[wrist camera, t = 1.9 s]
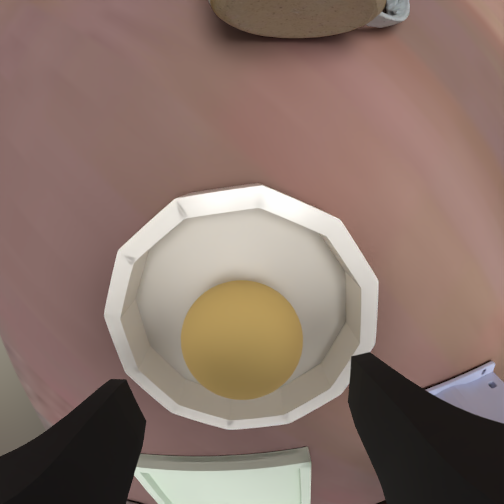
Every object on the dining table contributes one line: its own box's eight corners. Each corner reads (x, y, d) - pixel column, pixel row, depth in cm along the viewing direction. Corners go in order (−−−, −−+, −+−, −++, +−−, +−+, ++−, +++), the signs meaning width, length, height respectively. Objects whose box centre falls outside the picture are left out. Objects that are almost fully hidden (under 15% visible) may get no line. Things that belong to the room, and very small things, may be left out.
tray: (307, 446, 18) (311, 461, 17) (308, 501, 21) (309, 512, 20) (131, 452, 18) (127, 465, 17) (173, 506, 21) (171, 517, 20)
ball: (288, 257, 14) (311, 303, 9) (296, 348, 15) (315, 415, 10) (181, 271, 14) (151, 322, 9) (202, 359, 15) (189, 427, 10)
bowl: (350, 173, 13) (374, 174, 11) (353, 377, 16) (367, 407, 14) (106, 209, 13) (78, 218, 11) (162, 399, 16) (153, 430, 14)
